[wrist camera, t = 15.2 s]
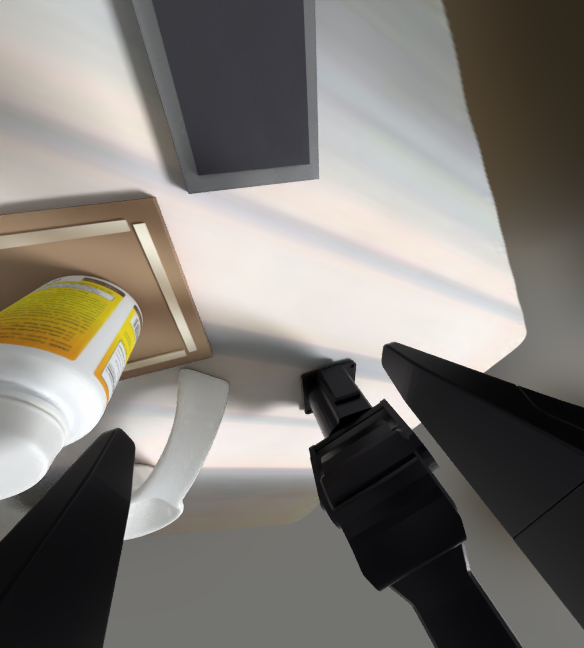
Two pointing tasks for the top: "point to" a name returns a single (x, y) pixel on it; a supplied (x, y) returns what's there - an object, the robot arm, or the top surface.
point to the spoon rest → (177, 454)
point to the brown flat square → (109, 271)
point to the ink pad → (236, 88)
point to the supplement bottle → (59, 370)
